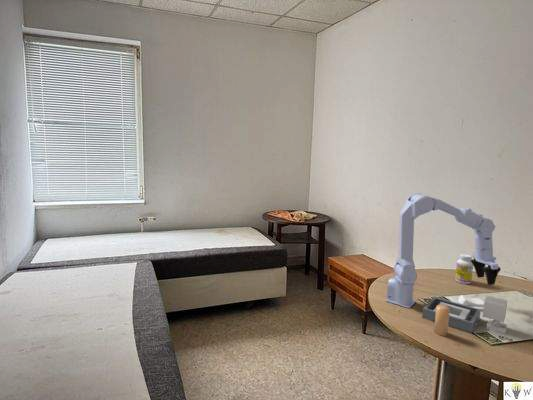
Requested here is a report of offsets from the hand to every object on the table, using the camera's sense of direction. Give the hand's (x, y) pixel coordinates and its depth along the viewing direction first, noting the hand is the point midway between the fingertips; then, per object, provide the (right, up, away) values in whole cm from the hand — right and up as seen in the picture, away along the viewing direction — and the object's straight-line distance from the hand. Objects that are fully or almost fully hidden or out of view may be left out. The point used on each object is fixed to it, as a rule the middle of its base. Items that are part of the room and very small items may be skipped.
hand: (485, 280), depth 136 cm
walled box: (-19, -12, -9) cm, 24 cm away
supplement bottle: (+6, -7, +27) cm, 29 cm away
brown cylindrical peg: (-28, -13, -20) cm, 37 cm away
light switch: (-5, -11, +2) cm, 12 cm away
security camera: (-7, -13, -15) cm, 21 cm away
